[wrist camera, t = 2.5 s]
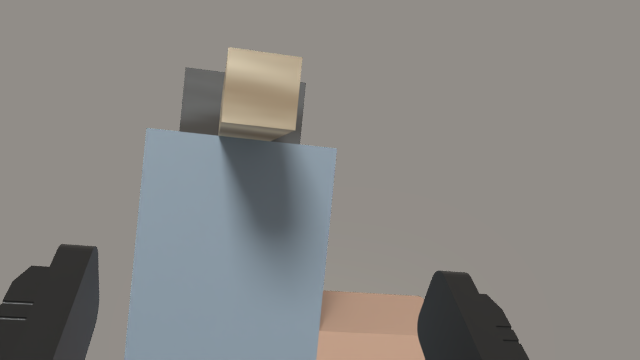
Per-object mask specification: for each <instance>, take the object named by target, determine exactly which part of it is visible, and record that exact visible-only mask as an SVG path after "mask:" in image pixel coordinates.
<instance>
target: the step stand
mask: <svg viewBox="0 0 640 360" xmlns="http://www.w3.org/2000/svg"><path fill="white" fill-rule="evenodd" d="M336 152H337V149H336V148H327V147H318V146H309V145H299V144H290V143H281V142H271V141H262V140H253V139H244V138H234V137H225V136H216V135H207V134H197V133H188V132H179V131H170V130H160V129H151V128H147V130H146V139H145V150H144V161H143V170H142V181H141V191H140V202H139V212H138V223H137V233H136V244H135V254H134V265H133V275H132V285H131V296H130V306H129V316H128V328H127V337H126V348H125V359H124V360H425V357H424V354H423V351H422V348H421V345H420V343H419V339H418V333H417V322H418V316H419V313H420V310H421V307H422V305H423V302H424V299H423V298H422V297H420V296H409V295H391V294H374V293H356V292H340V291H323V285H324V275H325V265H326V254H327V244H328V234H329V223H330V213H331V203H332V193H333V183H334V172H335V161H336Z"/></svg>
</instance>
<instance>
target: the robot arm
mask: <svg viewBox="0 0 640 360" xmlns="http://www.w3.org/2000/svg"><path fill="white" fill-rule="evenodd" d="M98 275H99V274H98V250H97V247H96V246H82V245H81V246H80V245H67V244H61V245H60V246H59V248H58V249H57V252H56V254H55V256H54V258H53V261H52V263H51V265H50V267H42V266H31V267H29V268H28V269H27V270H26V271H25V272H23V273H22V274H21V275H20V276H19V277H18V278H16V279H15V280H14V281H13V282H12V284H11V286H10V288H9V290H8V291H7V293H6V295H5V297H4V299H3V303H2V304H1V305H0V360H85V357H86V354H87V350H88V347H89V344H90V341H91V337H92V334H93V331H94V328H95V324H96V320H97V314H98V307H99V276H98ZM417 333H418V339H419V343H420V345H421V348H422V351H423V354H424V357H425V360H529V358H528V356H527V354H526V353H525V351H524V349H523V347H522V345H521V344H519V342H518V338H517V336H516V335H515V332H514V331H513V330H511V325H510V323H509V321H508V319H507V318H506V316H505V314H504V312H503V310H502V309H501V308H500V307H499V306H498V305H497V304H496V303H495V302H494V301H493V300H492V299H491V298H490V297H489V296H488V295H487V294H479V293H478V291H477V288H476V286H475V285H474V283H473V281H472V279H471V277H470V275H469V274H468V273H465V272H450V271H437V272H435V274H434V275H433V277H432V280H431V283H430V286H429V288H428V291H427V294H426V296H425V299H424V302H423V305H422V307H421V310H420V313H419V316H418V322H417Z"/></svg>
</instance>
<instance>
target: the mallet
mask: <svg viewBox="0 0 640 360" xmlns="http://www.w3.org/2000/svg"><path fill="white" fill-rule="evenodd" d="M301 67H302V57H296V56H288V55H280V54H274V53H266V52H259V51H252V50H244V49H238V48H230V47H229V49H228V56H227V63H226V71H225V72H218V71H210V70H202V69H194V68H186V69H185V70H186V71H185V81H184V90H183V100H182V111H181V121H180V132H188V133H197V134H207V135H216V136H225V137H234V138H244V139H253V140H262V141H271V142H281V143H290V144H299V145H300V136H301V127H302V116H303V107H304V96H305V85H306V83H303V82H300V77H301Z"/></svg>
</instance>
